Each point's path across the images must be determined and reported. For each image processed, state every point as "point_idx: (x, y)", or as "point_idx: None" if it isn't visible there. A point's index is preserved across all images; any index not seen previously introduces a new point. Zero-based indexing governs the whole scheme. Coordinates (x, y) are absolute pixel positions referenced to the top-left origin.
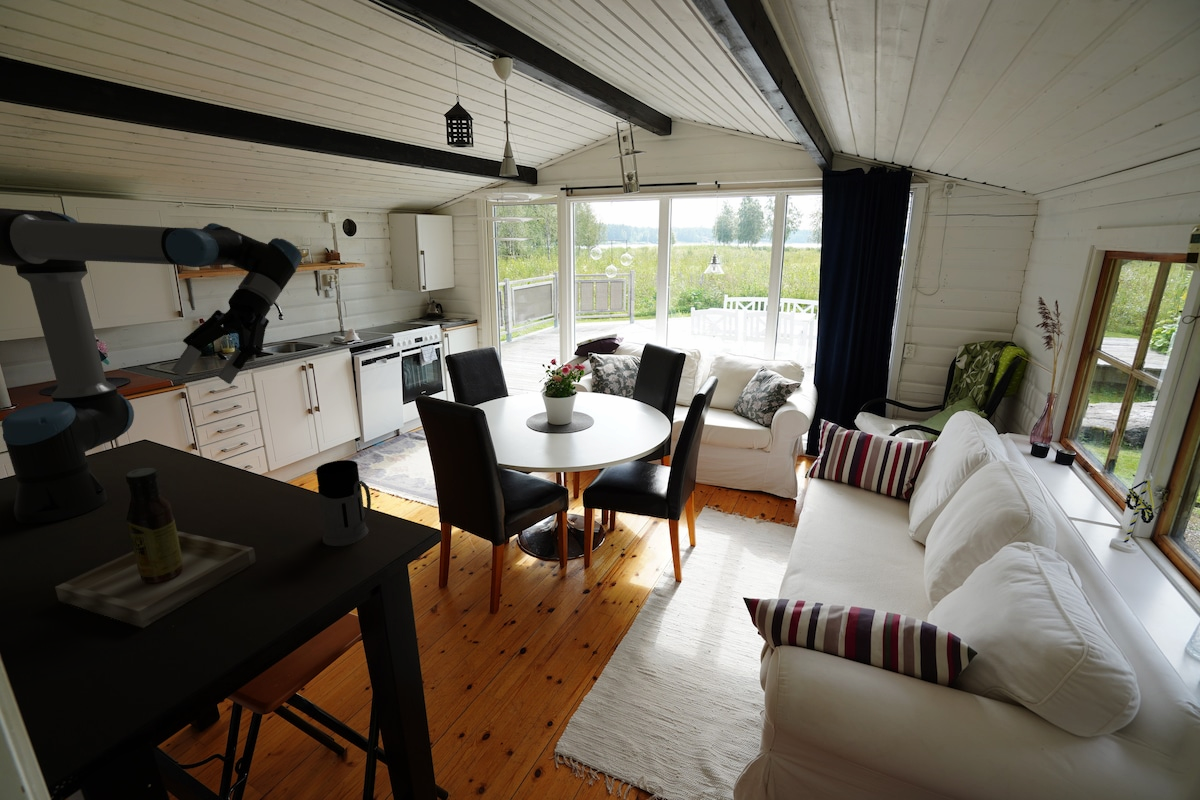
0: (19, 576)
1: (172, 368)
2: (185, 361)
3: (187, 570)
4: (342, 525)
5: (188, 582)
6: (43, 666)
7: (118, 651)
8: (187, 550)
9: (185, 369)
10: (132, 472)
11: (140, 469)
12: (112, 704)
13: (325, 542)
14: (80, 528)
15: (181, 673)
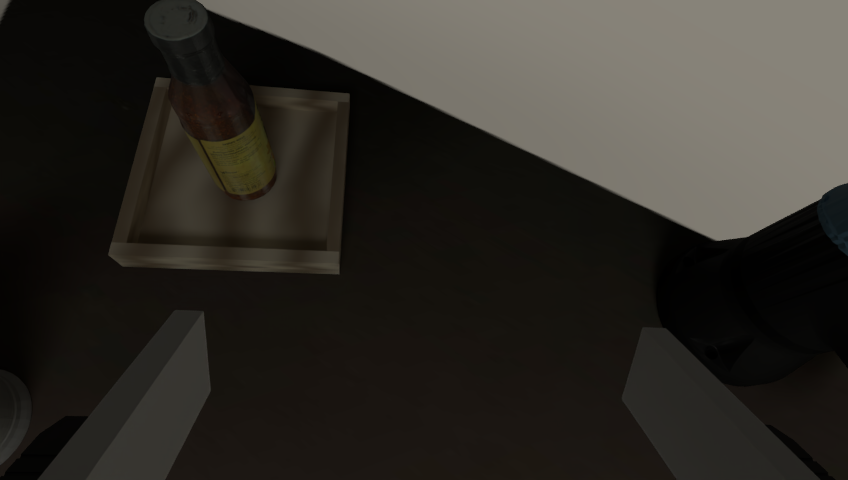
0: (487, 141)
1: (672, 335)
2: (692, 421)
3: (218, 197)
4: None
5: (143, 141)
6: (224, 31)
7: (155, 61)
8: (283, 246)
9: (653, 413)
10: (193, 10)
11: (192, 26)
12: (76, 7)
13: (3, 371)
14: (589, 266)
15: (29, 49)
